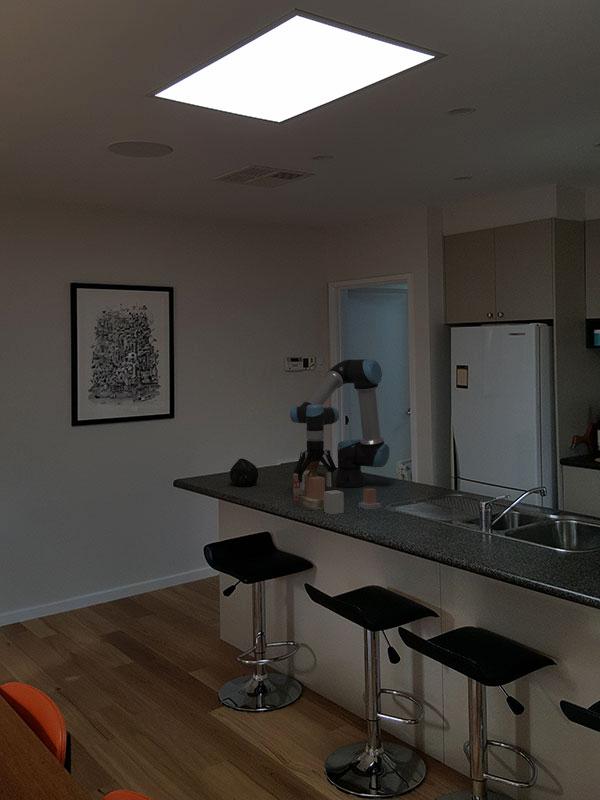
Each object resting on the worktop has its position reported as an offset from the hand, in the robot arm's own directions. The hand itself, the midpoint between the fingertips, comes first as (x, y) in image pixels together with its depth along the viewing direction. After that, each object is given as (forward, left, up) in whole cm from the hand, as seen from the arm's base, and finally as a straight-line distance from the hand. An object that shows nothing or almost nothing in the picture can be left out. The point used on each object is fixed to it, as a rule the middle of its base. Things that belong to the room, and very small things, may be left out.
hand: (315, 488), depth 332 cm
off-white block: (0, +15, -8) cm, 17 cm away
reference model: (-19, +14, -8) cm, 25 cm away
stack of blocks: (-7, -24, -9) cm, 26 cm away
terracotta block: (0, 0, -4) cm, 4 cm away
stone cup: (-36, -68, -8) cm, 77 cm away
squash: (+4, -65, -8) cm, 66 cm away
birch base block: (0, 0, -8) cm, 8 cm away
